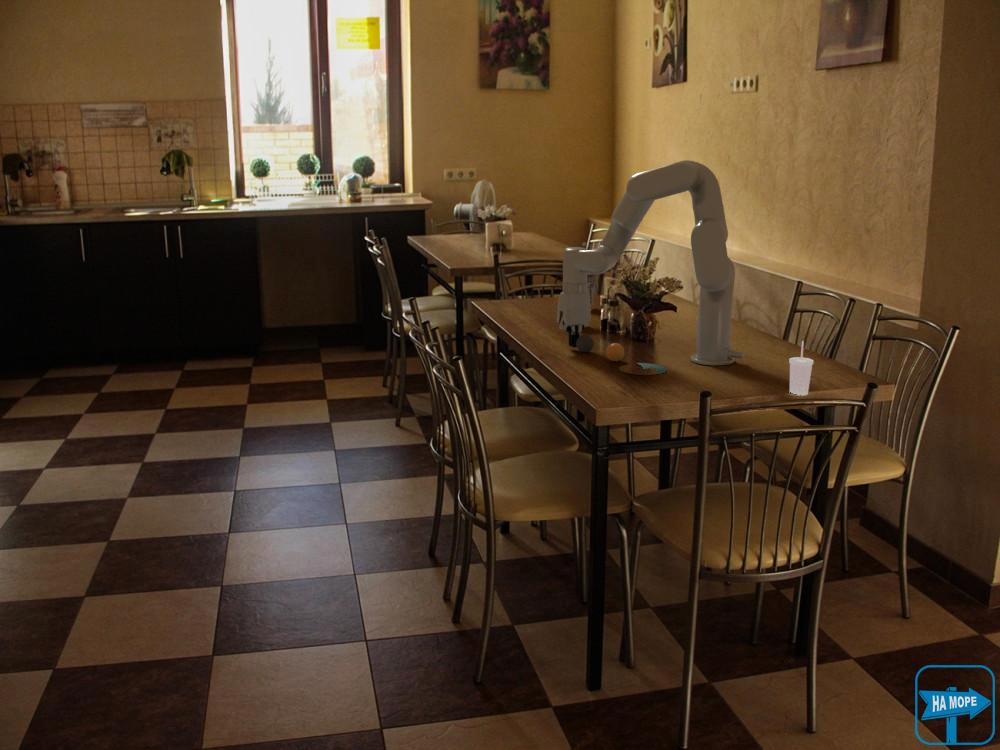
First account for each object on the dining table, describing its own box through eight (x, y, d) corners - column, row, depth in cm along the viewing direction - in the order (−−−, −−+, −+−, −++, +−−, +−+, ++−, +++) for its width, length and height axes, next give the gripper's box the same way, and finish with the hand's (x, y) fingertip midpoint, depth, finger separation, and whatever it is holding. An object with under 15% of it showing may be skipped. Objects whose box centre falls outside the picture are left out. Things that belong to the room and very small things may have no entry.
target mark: (672, 366, 282) (673, 366, 282) (658, 377, 270) (658, 377, 270) (626, 361, 288) (626, 361, 288) (610, 372, 276) (611, 371, 276)
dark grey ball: (596, 351, 301) (596, 333, 300) (590, 355, 297) (590, 337, 295) (579, 349, 304) (580, 332, 302) (573, 353, 299) (573, 335, 297)
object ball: (626, 360, 290) (627, 342, 289) (620, 364, 285) (621, 346, 284) (609, 358, 292) (609, 340, 291) (602, 362, 288) (603, 344, 286)
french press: (583, 304, 378) (584, 240, 371) (604, 309, 369) (606, 243, 363) (564, 307, 372) (566, 242, 365) (586, 312, 363) (587, 245, 357)
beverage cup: (809, 397, 252) (814, 344, 248) (785, 394, 254) (789, 342, 250) (811, 391, 257) (816, 339, 254) (787, 389, 259) (791, 337, 256)
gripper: (586, 284, 305) (585, 341, 310) (548, 288, 297) (547, 347, 302) (601, 287, 299) (600, 345, 304) (562, 292, 291) (561, 351, 296)
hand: (573, 346), depth 303 cm, fingers closed
